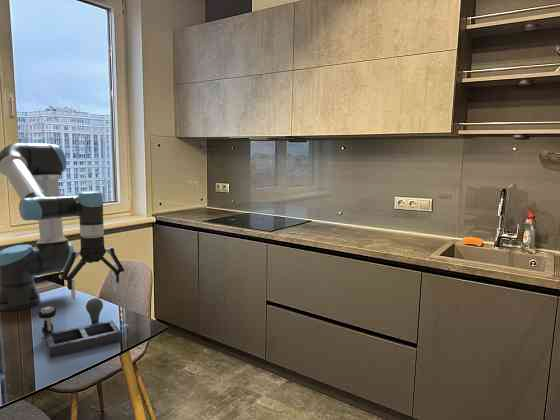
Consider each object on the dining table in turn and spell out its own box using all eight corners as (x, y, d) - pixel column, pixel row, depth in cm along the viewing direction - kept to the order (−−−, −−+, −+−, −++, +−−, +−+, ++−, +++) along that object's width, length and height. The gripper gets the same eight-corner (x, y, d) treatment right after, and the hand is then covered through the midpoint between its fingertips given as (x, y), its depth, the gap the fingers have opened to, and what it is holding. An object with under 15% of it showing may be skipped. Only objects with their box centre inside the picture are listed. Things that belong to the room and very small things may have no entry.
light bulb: (89, 322, 148) (89, 295, 147) (105, 322, 148) (104, 295, 147) (84, 328, 142) (83, 301, 141) (100, 328, 143) (99, 301, 142)
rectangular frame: (45, 344, 130) (45, 333, 130) (112, 329, 142) (112, 320, 142) (50, 358, 122) (49, 347, 121) (121, 341, 134) (120, 331, 133)
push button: (35, 335, 136) (34, 307, 135) (53, 330, 140) (51, 303, 139) (42, 342, 132) (40, 312, 130) (59, 337, 135) (58, 308, 134)
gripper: (53, 241, 131) (56, 304, 133) (131, 234, 145) (133, 291, 148) (50, 237, 137) (53, 298, 139) (126, 231, 151) (127, 285, 154)
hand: (94, 294), depth 144 cm, fingers open, 13 cm apart
